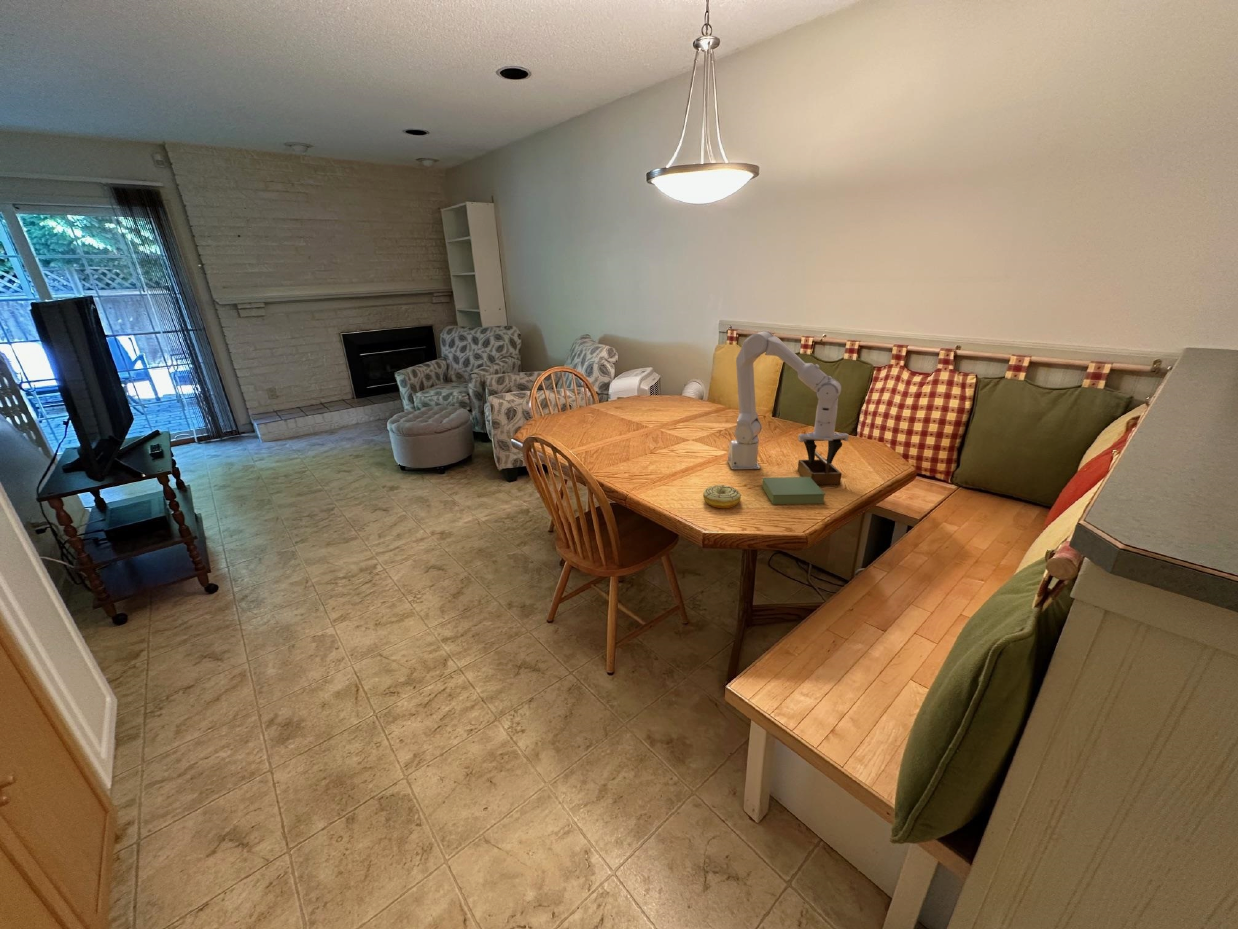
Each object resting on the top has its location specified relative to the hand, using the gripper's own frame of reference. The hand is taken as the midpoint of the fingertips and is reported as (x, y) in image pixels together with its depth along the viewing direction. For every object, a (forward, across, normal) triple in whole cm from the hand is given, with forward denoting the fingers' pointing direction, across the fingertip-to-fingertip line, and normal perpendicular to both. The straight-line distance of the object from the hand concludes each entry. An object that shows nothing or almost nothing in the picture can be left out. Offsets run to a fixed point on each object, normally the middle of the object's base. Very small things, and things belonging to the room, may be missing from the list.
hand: (819, 462), depth 149 cm
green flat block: (+5, -12, -12) cm, 18 cm away
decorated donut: (+5, -33, -16) cm, 37 cm away
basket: (+5, 0, 0) cm, 5 cm away
